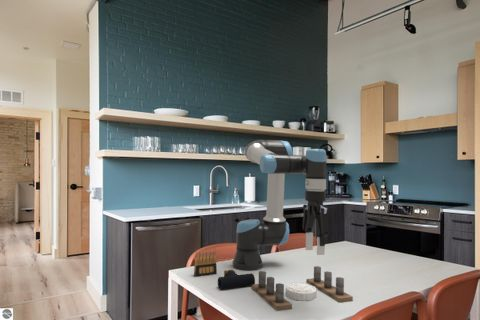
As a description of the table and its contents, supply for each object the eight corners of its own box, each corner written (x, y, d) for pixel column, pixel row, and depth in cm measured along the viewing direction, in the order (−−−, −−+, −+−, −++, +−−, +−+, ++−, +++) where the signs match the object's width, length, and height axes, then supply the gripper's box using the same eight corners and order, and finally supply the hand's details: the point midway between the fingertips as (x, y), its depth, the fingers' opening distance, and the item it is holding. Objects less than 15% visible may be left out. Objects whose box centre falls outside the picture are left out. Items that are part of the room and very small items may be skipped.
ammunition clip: (195, 277, 157) (195, 250, 158) (193, 275, 159) (194, 249, 159) (216, 274, 162) (217, 248, 162) (215, 273, 164) (215, 247, 164)
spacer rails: (251, 288, 144) (251, 270, 144) (318, 281, 154) (318, 264, 154) (276, 310, 121) (277, 289, 121) (352, 300, 132) (352, 280, 132)
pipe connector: (212, 270, 150) (243, 267, 157) (212, 282, 150) (243, 278, 156) (222, 279, 140) (255, 275, 146) (221, 292, 140) (254, 287, 146)
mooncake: (295, 288, 145) (295, 279, 145) (322, 295, 137) (322, 286, 138) (280, 296, 136) (280, 286, 136) (307, 304, 128) (307, 294, 128)
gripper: (293, 188, 137) (292, 246, 136) (321, 192, 118) (321, 259, 118) (310, 188, 140) (309, 245, 139) (340, 192, 121) (339, 258, 120)
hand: (314, 252), depth 128 cm, fingers open, 7 cm apart
